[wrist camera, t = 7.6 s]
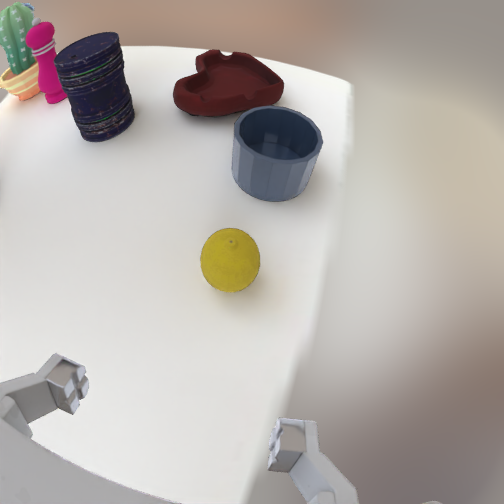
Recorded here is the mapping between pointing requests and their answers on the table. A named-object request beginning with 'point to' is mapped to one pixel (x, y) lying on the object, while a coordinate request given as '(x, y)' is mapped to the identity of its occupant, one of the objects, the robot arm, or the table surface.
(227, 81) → the ashtray
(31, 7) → the potted cactus
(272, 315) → the table surface
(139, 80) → the table surface
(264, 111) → the cup
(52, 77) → the pepper mill
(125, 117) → the dark blue barrel
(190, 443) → the table surface
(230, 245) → the lemon
